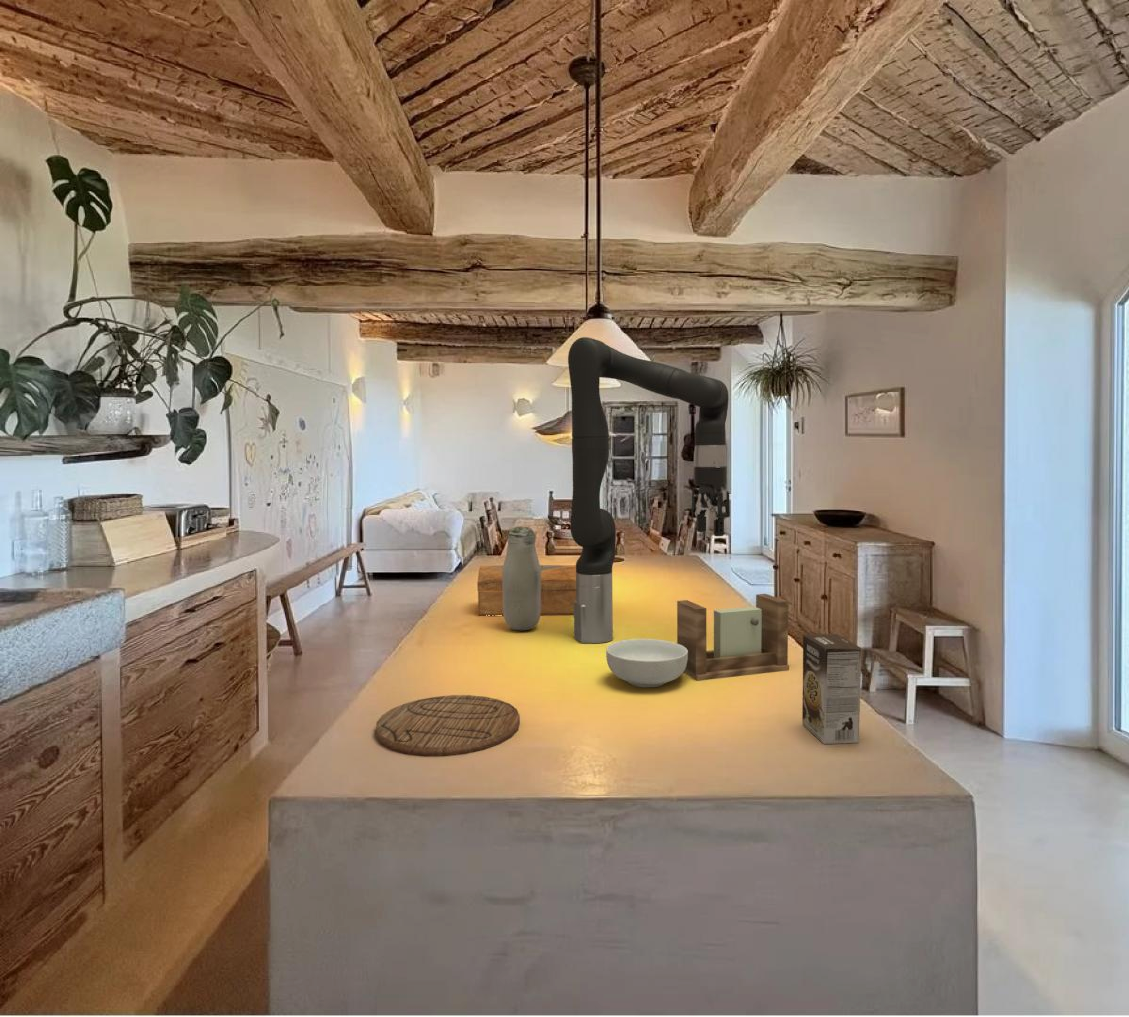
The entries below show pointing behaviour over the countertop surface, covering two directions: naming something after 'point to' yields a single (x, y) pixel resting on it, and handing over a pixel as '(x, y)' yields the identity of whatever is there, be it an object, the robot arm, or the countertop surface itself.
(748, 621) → the door panel
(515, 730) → the trivet
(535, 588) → the grey green bottle
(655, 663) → the cereal bowl
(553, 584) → the wooden box
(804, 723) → the coffee box
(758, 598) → the brown wooden stand
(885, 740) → the countertop surface
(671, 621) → the countertop surface
